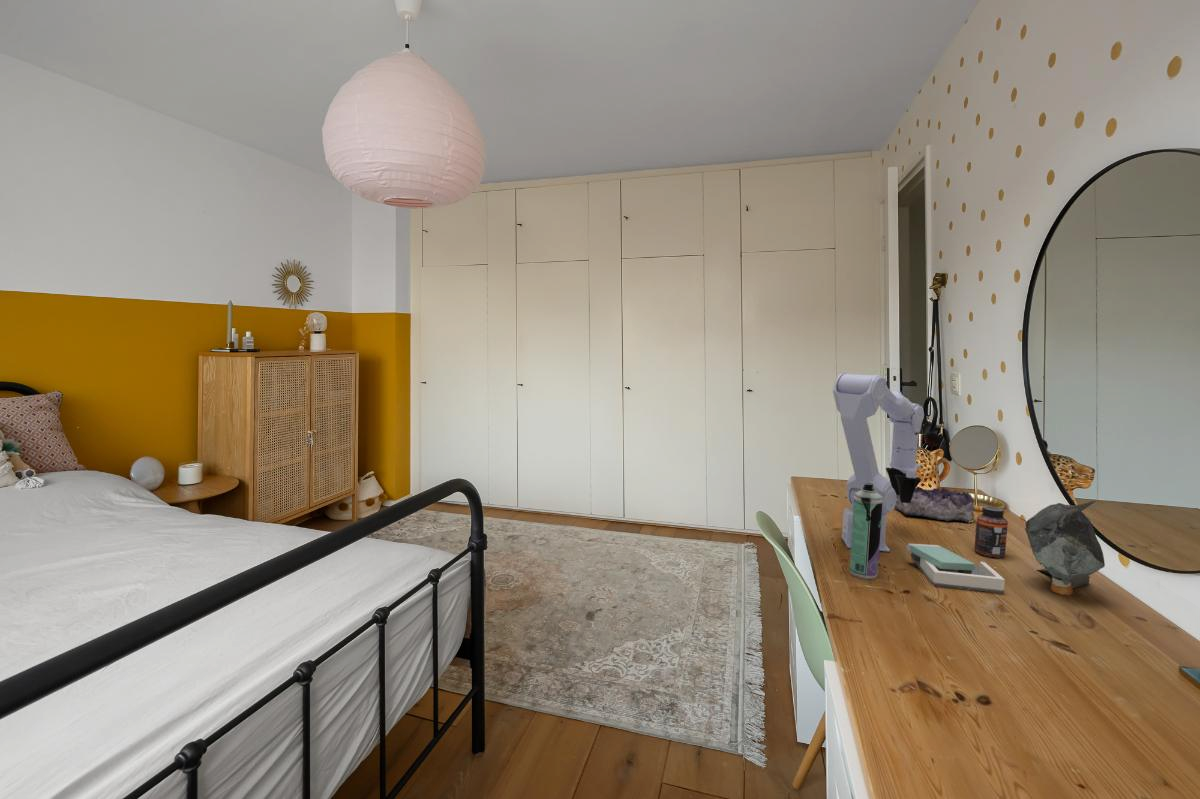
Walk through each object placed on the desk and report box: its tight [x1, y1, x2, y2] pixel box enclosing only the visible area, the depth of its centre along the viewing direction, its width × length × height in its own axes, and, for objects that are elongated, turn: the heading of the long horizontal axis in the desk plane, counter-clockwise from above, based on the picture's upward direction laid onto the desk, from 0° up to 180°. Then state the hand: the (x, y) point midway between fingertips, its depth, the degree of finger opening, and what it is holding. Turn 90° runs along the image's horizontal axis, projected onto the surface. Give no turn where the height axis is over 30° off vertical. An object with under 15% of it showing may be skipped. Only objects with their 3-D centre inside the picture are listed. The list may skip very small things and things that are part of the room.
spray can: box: [849, 483, 883, 580], centre depth 113 cm, size 6×6×20 cm
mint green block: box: [906, 543, 976, 574], centre depth 115 cm, size 8×11×3 cm
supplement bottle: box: [973, 505, 1009, 559], centre depth 125 cm, size 6×6×11 cm
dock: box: [911, 557, 1006, 595], centre depth 113 cm, size 12×14×3 cm
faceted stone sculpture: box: [1024, 500, 1106, 597], centre depth 107 cm, size 14×15×18 cm
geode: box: [894, 486, 976, 523], centre depth 154 cm, size 20×12×10 cm, turn 67°
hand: (900, 498), depth 139 cm, fingers open, 7 cm apart
